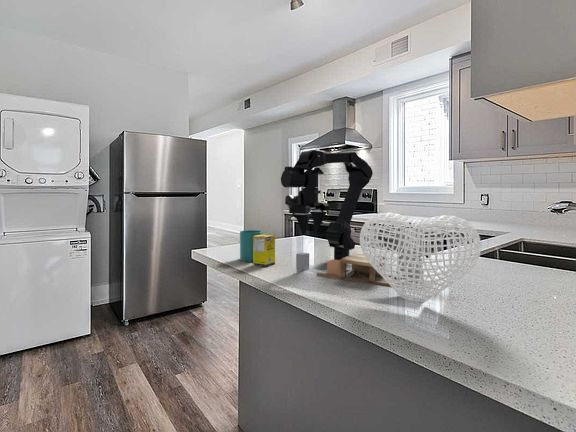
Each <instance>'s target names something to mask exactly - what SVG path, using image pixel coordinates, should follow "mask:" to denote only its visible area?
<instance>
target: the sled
mask: <svg viewBox="0 0 576 432" xmlns="http://www.w3.org/2000/svg"><path fill="white" fill-rule="evenodd" d="M295 255H296V256H295V259H296V260H295V262H296V263H295V266H296V267H295V270H296V273H299V272H302V271H308V272H313V273H318V272H321V273H327V269H324V270H320V269H315V268H310V253H309V252H297V253H296V254H295ZM353 275H355V273H354V270H352V269H350V271H348V272H346V276H348V277H352V276H353Z"/></svg>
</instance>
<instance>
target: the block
mask: <svg viewBox="0 0 576 432" xmlns="http://www.w3.org/2000/svg"><path fill="white" fill-rule="evenodd" d="M326 265H327V266H326V268H327V269H326V270H327V273H328V274H335V275H341V263H340V260H334V258H333V259H330V260H328V261H327V263H326Z"/></svg>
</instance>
